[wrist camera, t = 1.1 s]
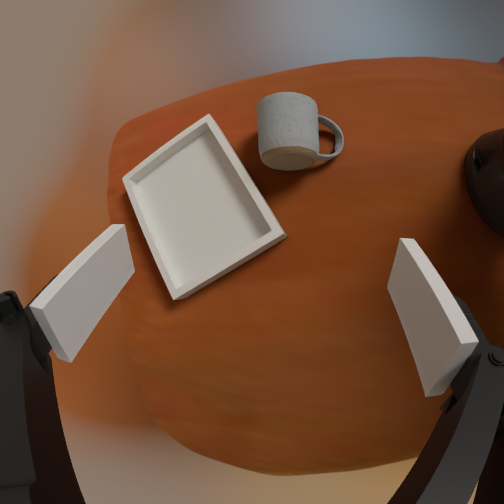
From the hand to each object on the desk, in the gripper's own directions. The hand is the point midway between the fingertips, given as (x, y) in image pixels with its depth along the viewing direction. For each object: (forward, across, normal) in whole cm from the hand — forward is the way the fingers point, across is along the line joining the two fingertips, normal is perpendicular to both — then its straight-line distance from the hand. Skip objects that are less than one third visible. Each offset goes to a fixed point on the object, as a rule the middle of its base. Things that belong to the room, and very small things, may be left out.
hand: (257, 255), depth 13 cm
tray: (+25, -10, -7) cm, 28 cm away
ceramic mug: (+28, +3, +1) cm, 29 cm away
